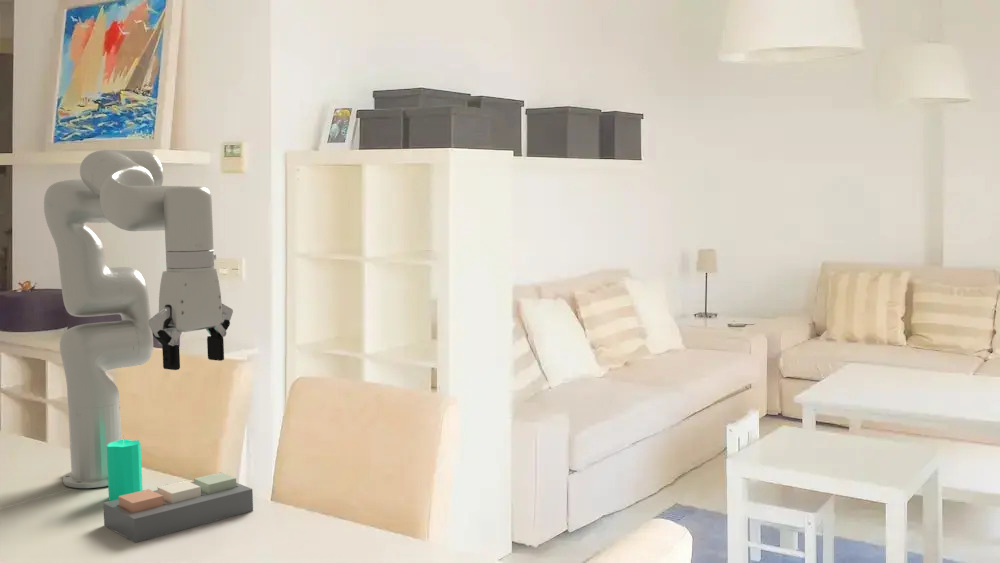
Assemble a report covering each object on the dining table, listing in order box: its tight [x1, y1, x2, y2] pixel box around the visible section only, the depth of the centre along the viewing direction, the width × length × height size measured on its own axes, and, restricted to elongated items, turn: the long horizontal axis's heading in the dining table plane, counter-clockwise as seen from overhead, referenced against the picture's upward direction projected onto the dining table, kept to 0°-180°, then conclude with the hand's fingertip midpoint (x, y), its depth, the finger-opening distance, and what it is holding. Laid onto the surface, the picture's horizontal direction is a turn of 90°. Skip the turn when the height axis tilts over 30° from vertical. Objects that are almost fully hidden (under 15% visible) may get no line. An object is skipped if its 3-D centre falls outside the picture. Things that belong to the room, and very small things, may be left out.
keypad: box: [102, 481, 254, 543], centre depth 170 cm, size 12×22×4 cm, turn 136°
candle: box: [107, 434, 143, 501], centre depth 182 cm, size 6×6×12 cm
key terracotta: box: [119, 488, 164, 513], centre depth 165 cm, size 5×5×3 cm
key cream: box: [156, 480, 201, 503], centre depth 170 cm, size 5×5×3 cm
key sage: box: [193, 471, 237, 494], centre depth 175 cm, size 5×5×3 cm
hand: (194, 364), depth 160 cm, fingers open, 9 cm apart
